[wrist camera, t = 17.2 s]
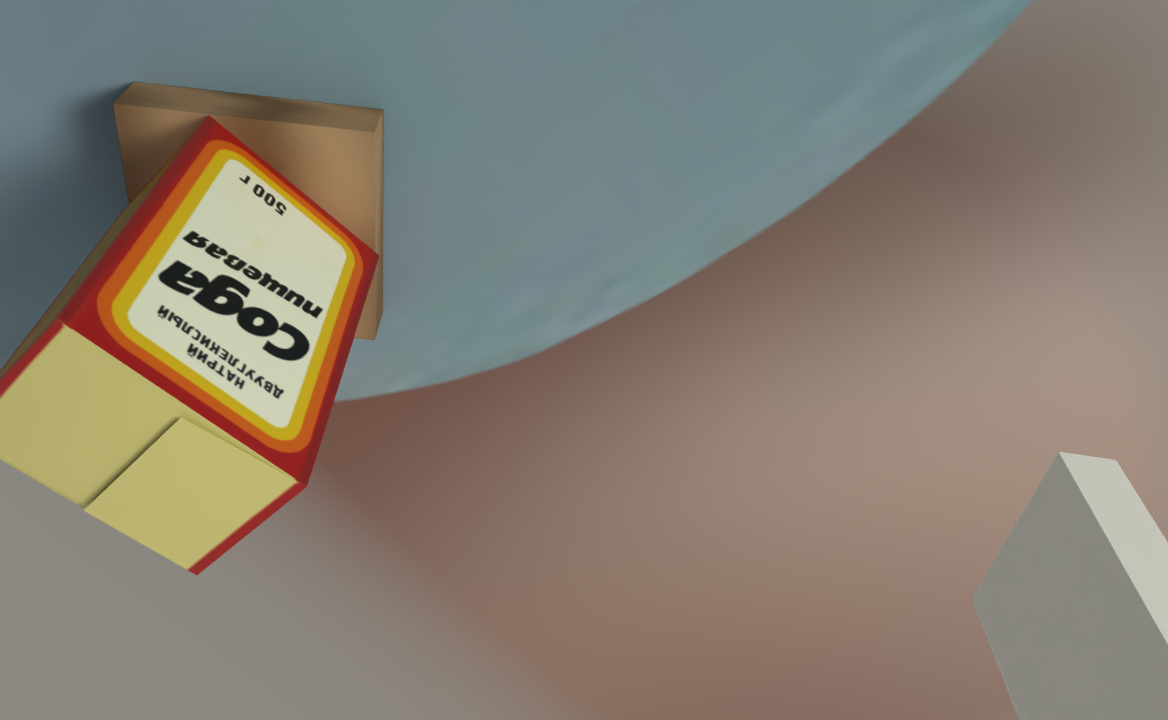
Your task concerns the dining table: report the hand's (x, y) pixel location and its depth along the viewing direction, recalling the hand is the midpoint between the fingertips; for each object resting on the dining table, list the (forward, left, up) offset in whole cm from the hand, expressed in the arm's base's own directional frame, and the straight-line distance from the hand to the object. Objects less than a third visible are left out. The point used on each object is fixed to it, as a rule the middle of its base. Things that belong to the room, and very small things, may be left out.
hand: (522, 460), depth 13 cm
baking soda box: (-13, -16, -32) cm, 38 cm away
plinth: (-13, -16, -34) cm, 40 cm away
